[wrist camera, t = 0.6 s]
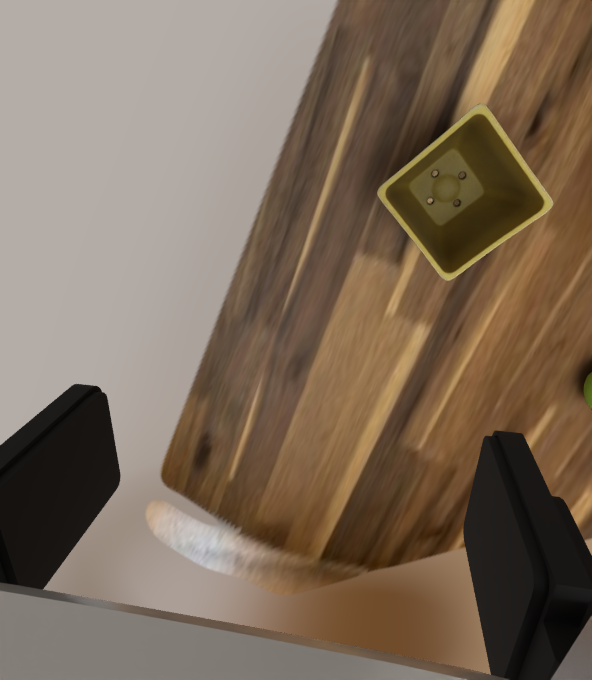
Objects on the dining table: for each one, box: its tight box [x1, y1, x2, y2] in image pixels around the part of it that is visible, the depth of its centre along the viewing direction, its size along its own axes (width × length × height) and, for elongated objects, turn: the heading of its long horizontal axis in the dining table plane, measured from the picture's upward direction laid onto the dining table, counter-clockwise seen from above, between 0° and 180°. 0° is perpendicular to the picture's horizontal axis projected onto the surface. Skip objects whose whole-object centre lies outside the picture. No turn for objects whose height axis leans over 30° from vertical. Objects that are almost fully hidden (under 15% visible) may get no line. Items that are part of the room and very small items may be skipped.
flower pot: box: [377, 104, 553, 281], centre depth 37 cm, size 9×9×9 cm
